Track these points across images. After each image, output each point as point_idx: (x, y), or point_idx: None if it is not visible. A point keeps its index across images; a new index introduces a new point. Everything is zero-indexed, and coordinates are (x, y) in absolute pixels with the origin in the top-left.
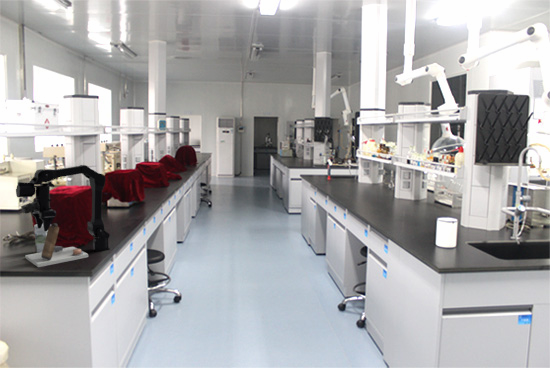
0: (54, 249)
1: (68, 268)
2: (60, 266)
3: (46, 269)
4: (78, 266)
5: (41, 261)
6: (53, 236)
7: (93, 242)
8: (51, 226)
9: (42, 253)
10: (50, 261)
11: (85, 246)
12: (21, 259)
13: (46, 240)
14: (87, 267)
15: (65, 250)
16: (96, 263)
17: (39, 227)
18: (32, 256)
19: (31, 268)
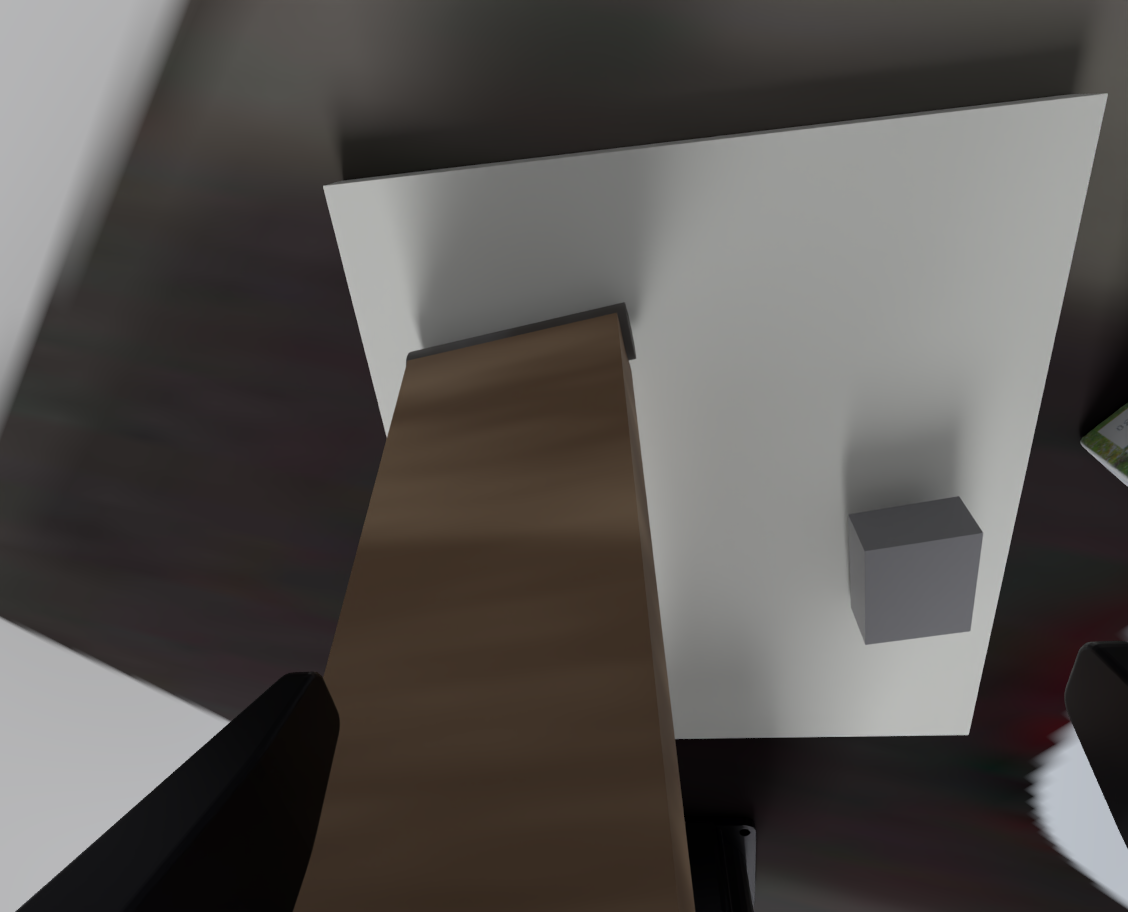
0: (853, 536)
1: (112, 471)
2: (239, 424)
3: (177, 260)
4: (149, 562)
5: (445, 261)
6: (331, 689)
7: (699, 905)
8: None
9: (593, 334)
10: (369, 365)
11: (969, 810)
12: (1057, 13)
13: (580, 524)
14: (74, 610)
15: (842, 629)
16: (185, 697)
17: (1092, 695)
18: (887, 195)
19: (332, 84)
